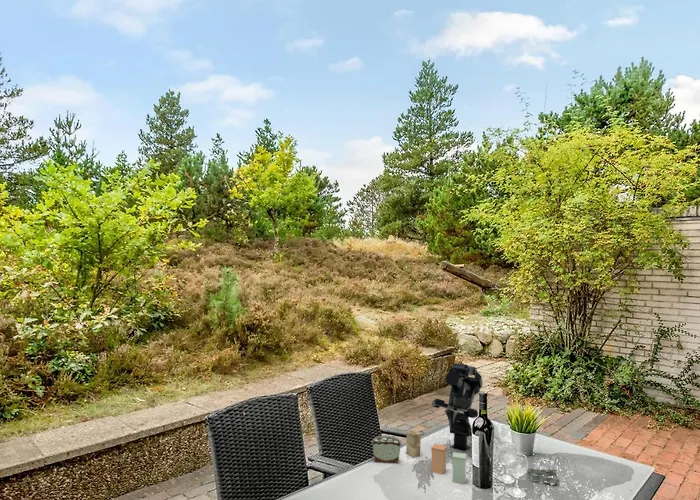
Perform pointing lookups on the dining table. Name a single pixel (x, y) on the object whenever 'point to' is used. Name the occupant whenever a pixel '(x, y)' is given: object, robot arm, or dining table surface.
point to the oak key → (413, 443)
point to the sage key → (459, 467)
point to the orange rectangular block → (438, 458)
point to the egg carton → (535, 474)
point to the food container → (386, 449)
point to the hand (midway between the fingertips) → (451, 429)
